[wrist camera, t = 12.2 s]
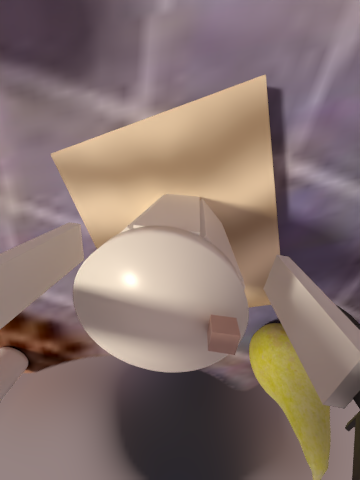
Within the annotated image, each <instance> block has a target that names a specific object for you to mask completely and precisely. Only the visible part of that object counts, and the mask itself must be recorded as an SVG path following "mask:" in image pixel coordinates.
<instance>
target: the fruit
mask: <svg viewBox="0 0 360 480" xmlns="http://www.w3.org/2000/svg"><path fill="white" fill-rule="evenodd" d="M249 356H250V362H251V366H252V369H253V372H254V374H255V376H256V378H257V380H258V381H259V383H260V384H261V386H262V387H263V388H264V389H265V391H266V392H267V393H268V394H269V395H270V396H271V397H272V398H273V399H275V401H276V402H277V403H278V404H279V405H280V407H281V408H282V409H283V411H284V412H285V414H286V416H287V418H288V420H289V422H290V424H291V426H292V428H293V430H294V432H295V434H296V436H297V438H298V439H299V442H300V444H301V446H302V449H303V452H304V454H305V457H306V460H307V462H308V464H309V466H310V468H311V470H312V475H313V480H321V478H322V476H323V475H324V474H325V472H326V471H327V468H328V460H329V452H330V406H327V405H323V404H322V402H321V400H320V398H319V396H318V394H317V392H316V390H315V388H314V386H313V384H312V382H311V380H310V379H309V377H308V375H307V373H306V371H305V369H304V367H303V365H302V363H301V361H300V359H299V357H298V355H297V353H296V351H295V349H294V347H293V345H292V344H291V342H290V340H289V338H288V336H287V334H286V332H285V330H284V328H283V326H282V324H281V323H270V324H267V325H264V326H263V327H261V328H260V329H259V330H258V331H257V332H256V333H255V334H254V335H253V337H252V339H251V342H250V347H249Z"/></svg>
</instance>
